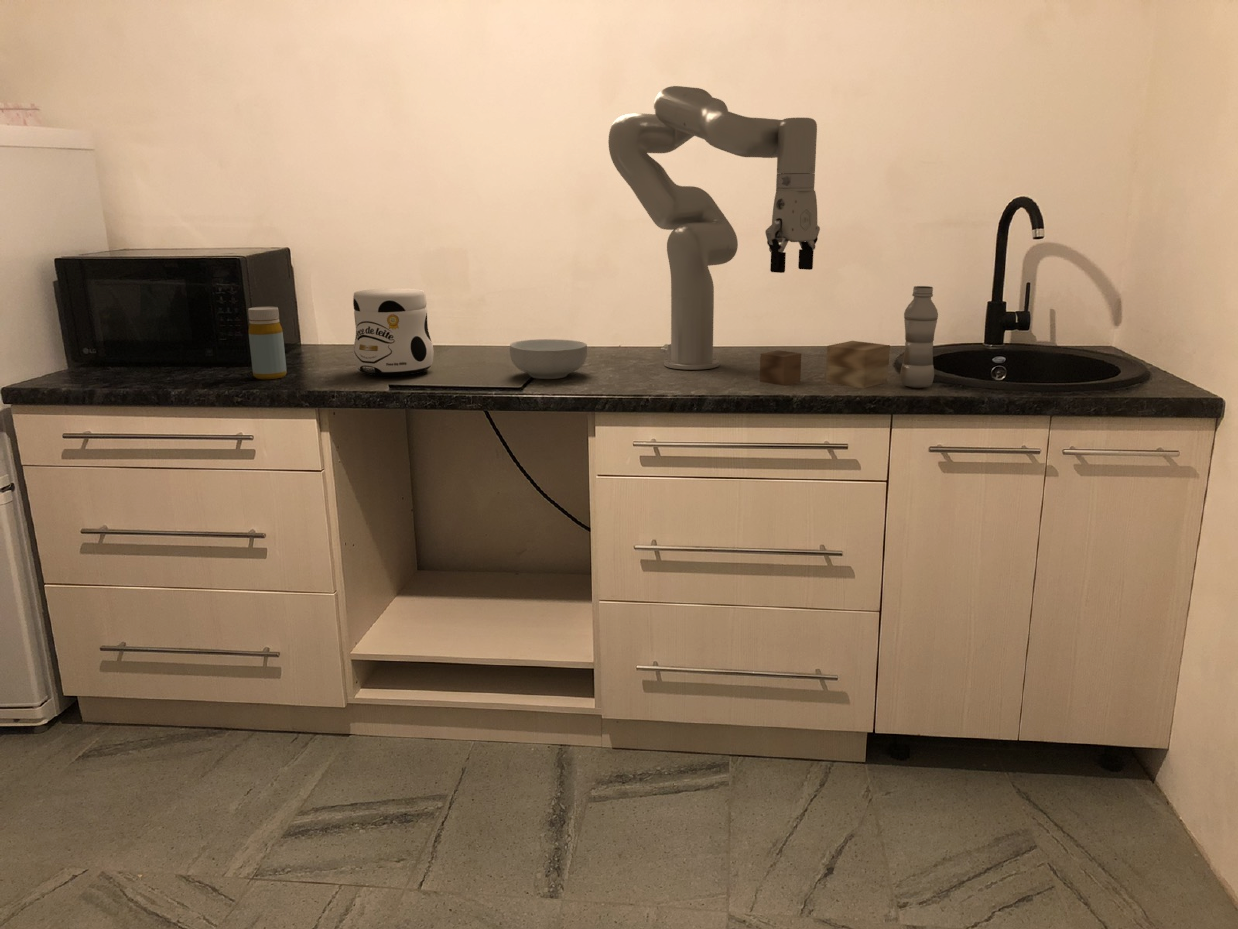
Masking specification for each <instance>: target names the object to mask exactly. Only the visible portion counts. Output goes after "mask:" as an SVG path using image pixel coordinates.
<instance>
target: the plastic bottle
mask: <svg viewBox="0 0 1238 929" xmlns="http://www.w3.org/2000/svg"><path fill="white" fill-rule="evenodd" d="M933 290H934V287H933V286H928V285H917V286H913V290H912V291H913V292H912V295H911V296H912V297H913V299H912V300H911V302H910V303H909V304H908V305H907V306H906V308H905V310H904V314H903V318H904V330H905V331H904V333H905V335H904V339H905V342H904V354H903V360H902V365H901V367H900V373H899V375H900V376H899V378H900V382H901V383H902V385H903V386H905V387H908V388H909V387H910V388H912V389H921V388H928V387H931V385H932V384H933V382H934V377H935V368H934V367H935V366H934V353H933V352H934V351H933V350H934V347H933V346H934V339H935V332H936V328H937V323H938V318H939V312H938V309H937V307H936V305H935V303H934V302H933V300H932V298H933V296H934V294H933V293H934V292H933Z"/></svg>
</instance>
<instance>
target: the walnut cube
mask: <svg viewBox="0 0 1238 929" xmlns="http://www.w3.org/2000/svg"><path fill="white" fill-rule="evenodd" d="M759 358H760V360H759V361H760V362H759V363H760V364H759V383H765V384H771V385H778V386H787V385H790V384H791V385H792V384H795V383H800V382H801V374H802V373H801V372H802V352H794V351H786V350H778V349H777V350H772V351H767V352H762V353H760V355H759Z"/></svg>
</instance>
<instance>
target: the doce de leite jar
mask: <svg viewBox="0 0 1238 929" xmlns="http://www.w3.org/2000/svg"><path fill="white" fill-rule="evenodd" d="M352 296H353V298H352V299H353V300H352V303H353V304H352V305H353V309H354V313H353V314H354V323H355V324H354V325H355V337H354V338H355V339H354V342H353V343H354V344H353V349H352V350H353V351H352V354H353V360H354V365H355V367H356V369H357V370H359V371H360V372H361V373H363V374H366V375H371V376H378V377H398V376H399V377H400V376H408V375H416V374H419V373H421V372H424V371H427V370H428V369H429V368H431V366H432V365H433V362H434V353H435V352H434V346H433V342H432V338H431V336H430V332H429V325H428V309H427V298H426V293H425V290H424V289H420V288H419V289H418V288H403V287H402V288H398V287H397V288H375V289H366V290H358V291H355V292H353V295H352Z"/></svg>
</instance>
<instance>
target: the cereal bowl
mask: <svg viewBox="0 0 1238 929" xmlns="http://www.w3.org/2000/svg"><path fill="white" fill-rule="evenodd" d="M587 355H588V344H587V343H586V342H584V341H580V340H572V339H571V340H570V339H559V338H557V339H556V338H555V339H553V338H551V339H549V338H547V339H525V340H519V341H515V342H512V343H510V345H509V356H510V359H511V362H512V363H513V365H514V366H515V367H516V368H517V369H518V370H520V371H521V372H524V373H526V374H528V375H529V376H530V377H531V378H533V379H539V380H555V379H562V378H566V377H567V376H568V375H569V374H572V373H574V372H575V371H578V370H579V369H581V367H583V365H584V364H585V362H586V360H587Z"/></svg>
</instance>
